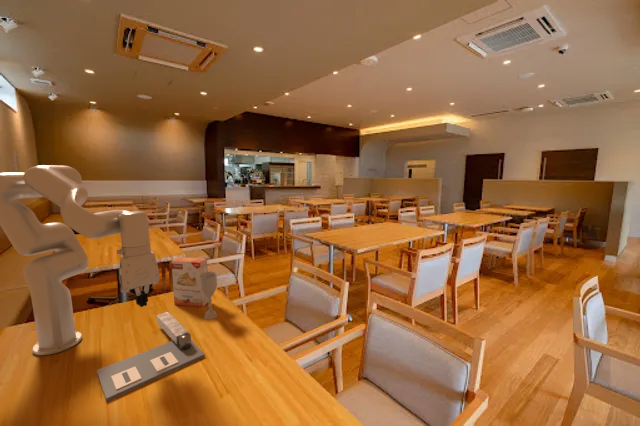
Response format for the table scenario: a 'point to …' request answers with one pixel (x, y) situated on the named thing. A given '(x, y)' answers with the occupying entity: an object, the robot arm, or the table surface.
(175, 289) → the cracker box
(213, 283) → the chalice
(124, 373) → the label board
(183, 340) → the swing bar
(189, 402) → the table surface
